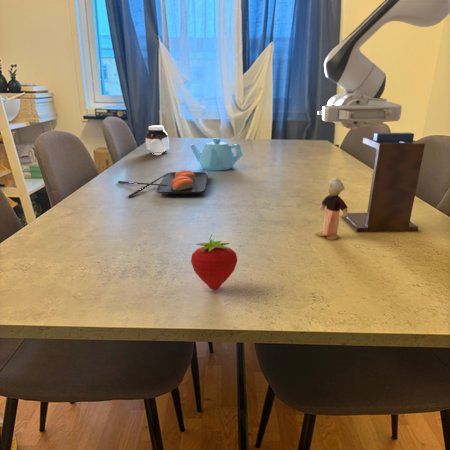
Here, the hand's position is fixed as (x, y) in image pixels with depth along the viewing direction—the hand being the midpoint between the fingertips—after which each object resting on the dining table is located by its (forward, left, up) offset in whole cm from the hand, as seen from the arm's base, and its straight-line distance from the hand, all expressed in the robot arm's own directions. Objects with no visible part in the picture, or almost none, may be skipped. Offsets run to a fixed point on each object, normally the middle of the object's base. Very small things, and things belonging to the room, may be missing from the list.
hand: (370, 115), depth 107 cm
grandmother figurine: (+14, +25, -23) cm, 37 cm away
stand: (0, +16, -23) cm, 28 cm away
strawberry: (+40, +50, -23) cm, 68 cm away
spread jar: (+63, -94, -23) cm, 116 cm away
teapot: (+37, -58, -23) cm, 73 cm away
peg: (0, +17, -20) cm, 26 cm away
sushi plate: (+56, -26, -23) cm, 66 cm away
